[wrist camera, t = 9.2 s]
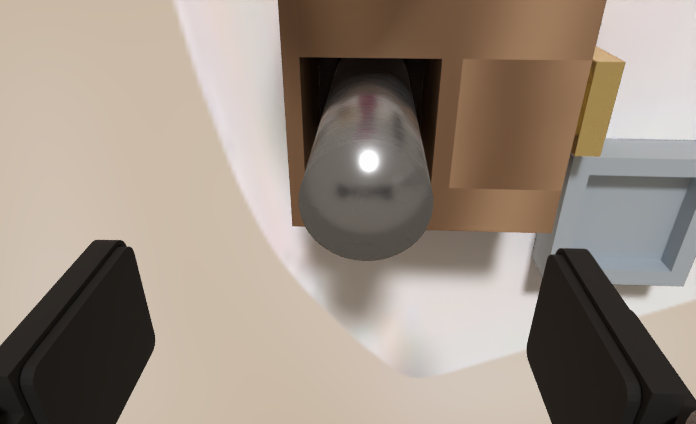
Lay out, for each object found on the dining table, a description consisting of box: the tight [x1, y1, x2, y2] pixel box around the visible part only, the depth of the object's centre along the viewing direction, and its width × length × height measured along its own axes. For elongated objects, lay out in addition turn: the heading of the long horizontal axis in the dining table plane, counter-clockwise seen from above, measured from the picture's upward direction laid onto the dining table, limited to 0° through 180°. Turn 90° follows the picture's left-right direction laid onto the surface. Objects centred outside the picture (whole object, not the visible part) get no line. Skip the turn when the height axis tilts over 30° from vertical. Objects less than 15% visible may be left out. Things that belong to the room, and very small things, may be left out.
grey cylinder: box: [299, 58, 433, 261], centre depth 21 cm, size 4×4×14 cm
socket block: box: [278, 0, 606, 233], centre depth 24 cm, size 12×10×7 cm
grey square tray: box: [532, 139, 696, 286], centre depth 29 cm, size 8×8×3 cm
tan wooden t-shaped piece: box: [571, 46, 625, 157], centre depth 25 cm, size 7×4×4 cm, turn 90°
